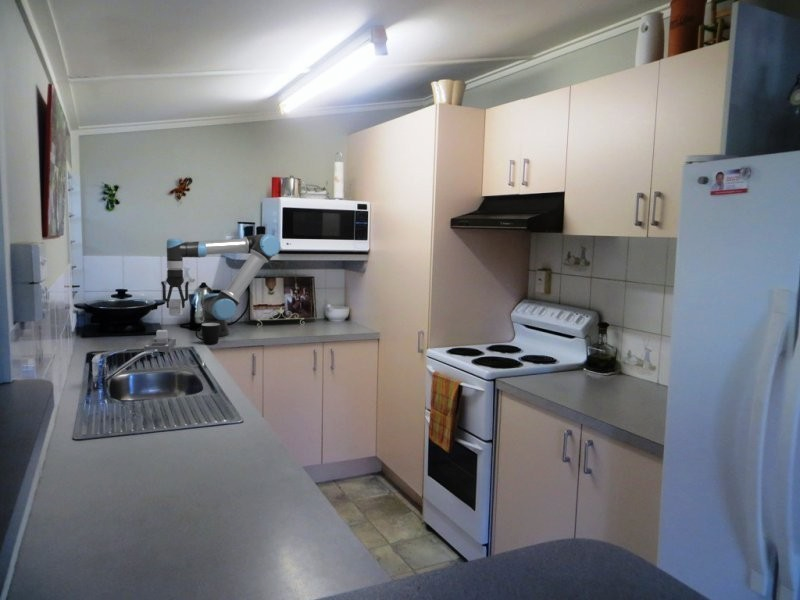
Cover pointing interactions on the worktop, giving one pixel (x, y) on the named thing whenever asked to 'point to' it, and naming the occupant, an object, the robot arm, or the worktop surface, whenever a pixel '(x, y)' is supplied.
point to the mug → (209, 333)
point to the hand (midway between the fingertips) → (175, 314)
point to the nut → (175, 307)
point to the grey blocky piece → (161, 342)
